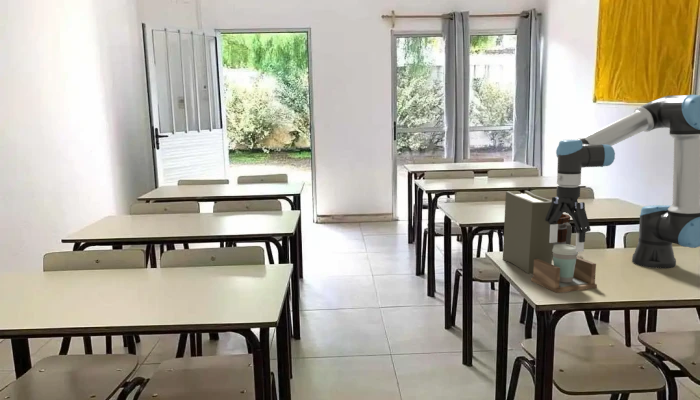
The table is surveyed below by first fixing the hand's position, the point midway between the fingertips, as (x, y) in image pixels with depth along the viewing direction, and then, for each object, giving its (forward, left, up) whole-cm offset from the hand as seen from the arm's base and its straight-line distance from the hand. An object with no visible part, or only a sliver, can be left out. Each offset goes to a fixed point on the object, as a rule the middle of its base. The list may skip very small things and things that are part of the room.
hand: (565, 246), depth 199 cm
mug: (-27, -39, -14) cm, 49 cm away
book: (-2, -24, -14) cm, 28 cm away
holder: (0, 0, -13) cm, 13 cm away
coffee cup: (0, 0, -12) cm, 12 cm away
